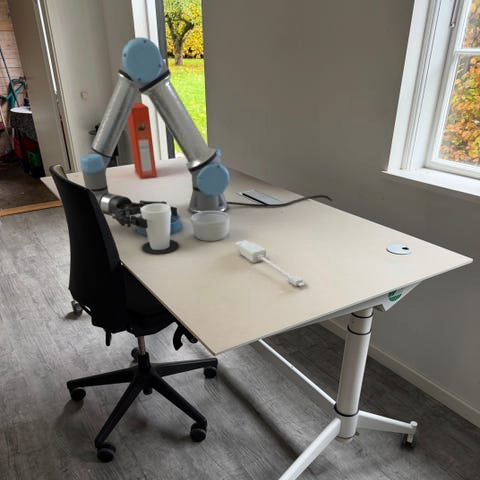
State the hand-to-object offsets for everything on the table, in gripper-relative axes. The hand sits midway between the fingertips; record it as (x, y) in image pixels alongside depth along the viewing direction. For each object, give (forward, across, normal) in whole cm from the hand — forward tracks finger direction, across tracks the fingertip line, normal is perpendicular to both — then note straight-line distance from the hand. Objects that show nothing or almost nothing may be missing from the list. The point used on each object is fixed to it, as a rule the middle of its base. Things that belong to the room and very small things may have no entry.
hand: (162, 217), depth 150 cm
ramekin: (+6, -17, -11) cm, 21 cm away
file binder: (-76, -64, -11) cm, 100 cm away
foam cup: (-2, 0, -10) cm, 11 cm away
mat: (-2, 0, -10) cm, 11 cm away
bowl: (-15, -12, -10) cm, 22 cm away
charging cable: (+36, -7, -11) cm, 38 cm away
